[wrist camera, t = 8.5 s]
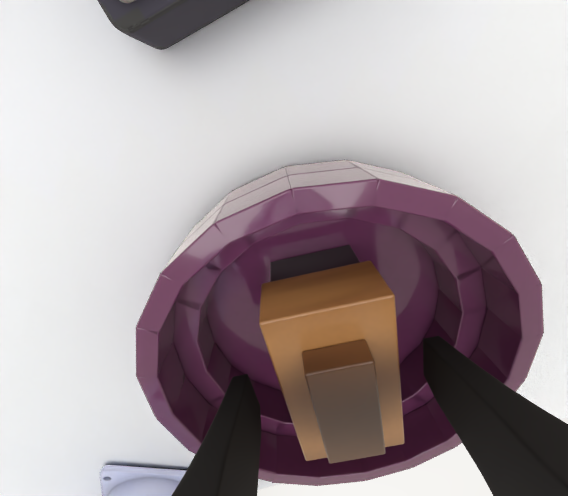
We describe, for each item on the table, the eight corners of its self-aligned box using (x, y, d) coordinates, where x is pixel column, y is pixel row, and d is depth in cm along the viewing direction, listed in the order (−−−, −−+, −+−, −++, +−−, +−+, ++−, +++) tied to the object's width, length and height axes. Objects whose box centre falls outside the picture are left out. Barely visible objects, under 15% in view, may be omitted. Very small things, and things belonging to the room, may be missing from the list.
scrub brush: (371, 360, 16) (416, 471, 11) (296, 375, 16) (308, 490, 11) (355, 237, 13) (410, 315, 8) (262, 257, 13) (256, 346, 8)
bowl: (399, 415, 19) (433, 494, 15) (168, 390, 17) (136, 473, 13) (526, 198, 13) (643, 236, 9) (184, 121, 11) (133, 124, 7)
